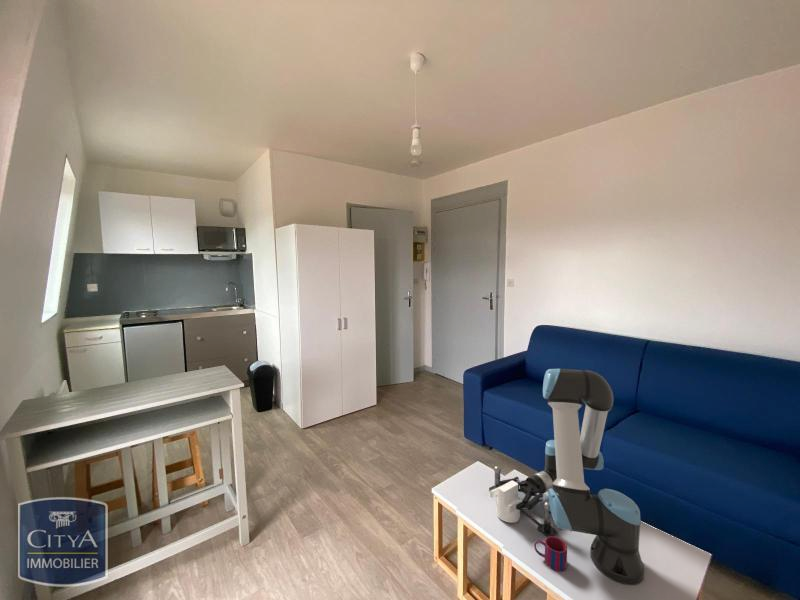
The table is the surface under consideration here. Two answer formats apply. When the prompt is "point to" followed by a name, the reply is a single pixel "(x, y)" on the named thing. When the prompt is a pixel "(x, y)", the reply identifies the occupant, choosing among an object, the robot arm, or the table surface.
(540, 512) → the slate mat
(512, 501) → the base with upright slab
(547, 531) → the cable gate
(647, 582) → the table surface
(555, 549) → the mug
